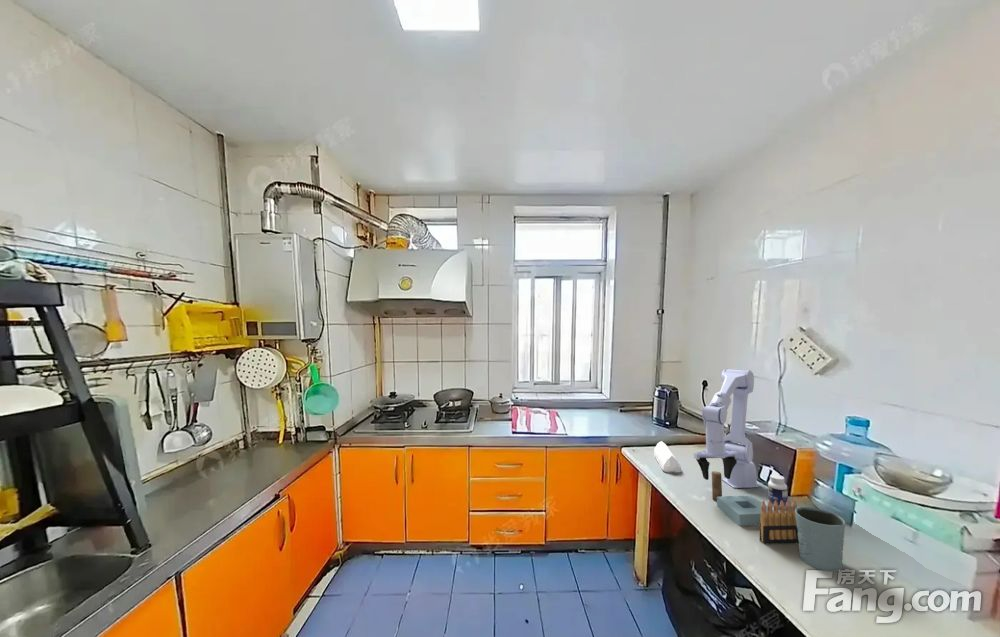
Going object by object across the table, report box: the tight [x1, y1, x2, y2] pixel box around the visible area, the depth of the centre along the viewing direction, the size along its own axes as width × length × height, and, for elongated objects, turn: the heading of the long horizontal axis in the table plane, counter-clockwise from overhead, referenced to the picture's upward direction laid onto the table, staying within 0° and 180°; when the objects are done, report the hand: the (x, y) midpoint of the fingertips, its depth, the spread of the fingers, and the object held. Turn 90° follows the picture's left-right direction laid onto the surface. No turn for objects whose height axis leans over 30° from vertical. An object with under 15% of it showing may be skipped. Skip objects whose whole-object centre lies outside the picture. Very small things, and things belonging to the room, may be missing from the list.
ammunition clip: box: [759, 499, 799, 545], centre depth 109 cm, size 11×2×12 cm, turn 89°
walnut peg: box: [711, 470, 723, 502], centre depth 135 cm, size 3×3×10 cm
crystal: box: [653, 440, 683, 474], centre depth 170 cm, size 7×7×24 cm
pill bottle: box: [767, 473, 789, 509], centre depth 130 cm, size 5×5×10 cm
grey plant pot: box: [795, 506, 846, 572], centre depth 100 cm, size 10×10×12 cm
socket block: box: [716, 494, 774, 527], centre depth 124 cm, size 12×12×4 cm
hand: (716, 478), depth 135 cm, fingers open, 7 cm apart
